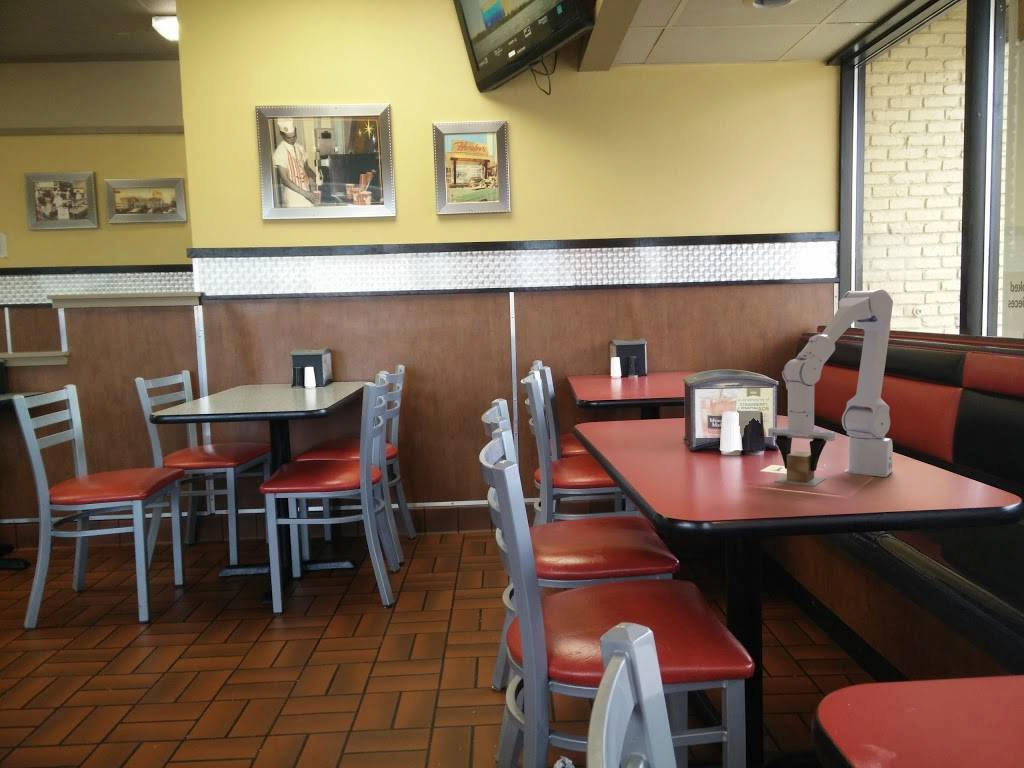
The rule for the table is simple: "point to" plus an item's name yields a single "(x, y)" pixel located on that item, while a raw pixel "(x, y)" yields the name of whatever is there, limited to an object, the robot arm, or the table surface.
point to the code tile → (775, 469)
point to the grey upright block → (747, 417)
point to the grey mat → (812, 482)
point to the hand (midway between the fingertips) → (800, 469)
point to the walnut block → (799, 467)
